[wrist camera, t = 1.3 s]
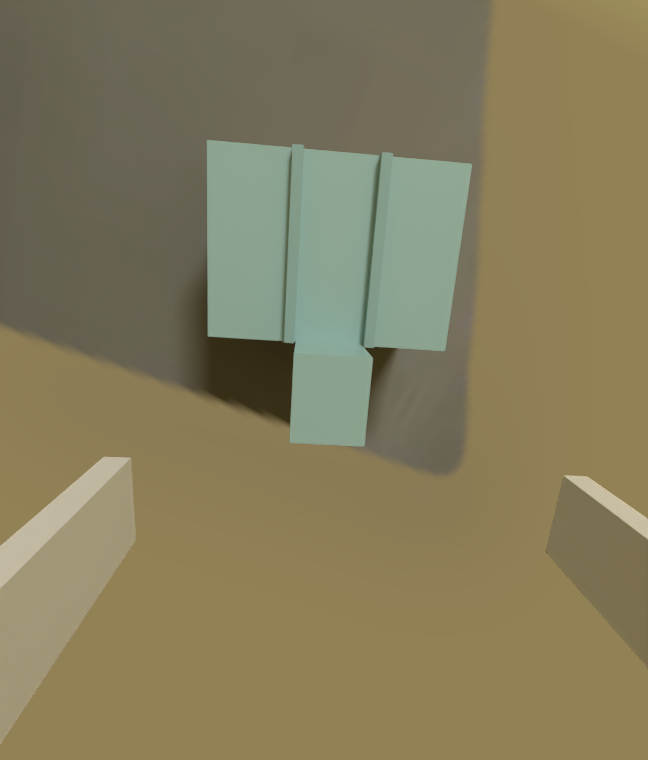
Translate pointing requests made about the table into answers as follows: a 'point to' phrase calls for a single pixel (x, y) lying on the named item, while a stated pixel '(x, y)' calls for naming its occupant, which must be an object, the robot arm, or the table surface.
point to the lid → (332, 266)
